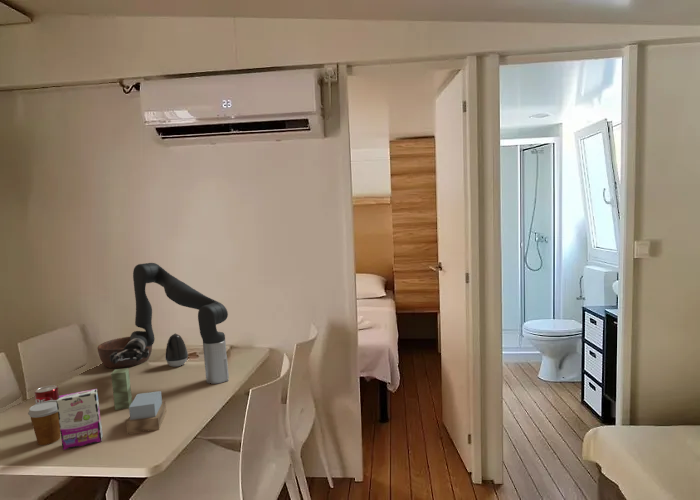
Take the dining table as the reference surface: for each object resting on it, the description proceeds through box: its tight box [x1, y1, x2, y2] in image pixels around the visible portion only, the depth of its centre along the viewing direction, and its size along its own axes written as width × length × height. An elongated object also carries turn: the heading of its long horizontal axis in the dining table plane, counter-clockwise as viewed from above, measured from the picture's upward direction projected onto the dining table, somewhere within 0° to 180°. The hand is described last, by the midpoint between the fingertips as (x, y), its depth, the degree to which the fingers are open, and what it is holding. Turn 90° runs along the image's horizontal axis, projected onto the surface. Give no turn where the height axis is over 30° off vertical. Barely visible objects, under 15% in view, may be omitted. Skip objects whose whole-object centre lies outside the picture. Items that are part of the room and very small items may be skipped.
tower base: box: [125, 400, 167, 435], centre depth 167 cm, size 10×15×4 cm, turn 12°
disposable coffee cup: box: [27, 400, 61, 446], centre depth 158 cm, size 10×10×12 cm
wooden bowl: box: [96, 336, 153, 369], centre depth 241 cm, size 25×25×10 cm
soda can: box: [34, 384, 60, 404], centre depth 174 cm, size 7×7×12 cm
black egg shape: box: [164, 333, 189, 368], centre depth 230 cm, size 10×10×15 cm
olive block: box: [110, 367, 133, 411], centre depth 183 cm, size 5×5×14 cm
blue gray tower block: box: [128, 390, 163, 420], centre depth 167 cm, size 8×12×4 cm, turn 11°
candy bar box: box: [56, 388, 104, 451], centre depth 154 cm, size 11×5×16 cm, turn 114°
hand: (126, 360), depth 193 cm, fingers open, 8 cm apart
